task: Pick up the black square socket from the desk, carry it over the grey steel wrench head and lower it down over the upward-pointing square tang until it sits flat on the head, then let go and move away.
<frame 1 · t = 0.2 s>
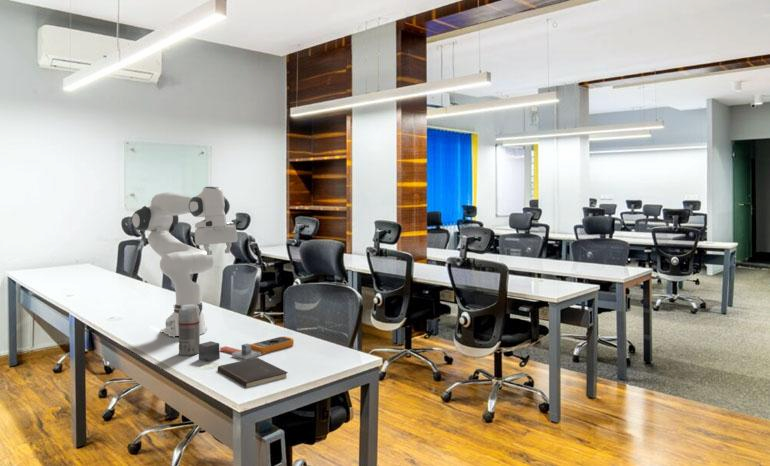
hand: (218, 254, 230), 39 cm above the table, tool pointing down, fingers open, 8 cm apart
spray can: (189, 353, 214), on the table
hardcover book: (252, 375, 188), on the table
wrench: (246, 356, 210), on the table
multimeter: (272, 349, 221), on the table
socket: (209, 358, 206), on the table
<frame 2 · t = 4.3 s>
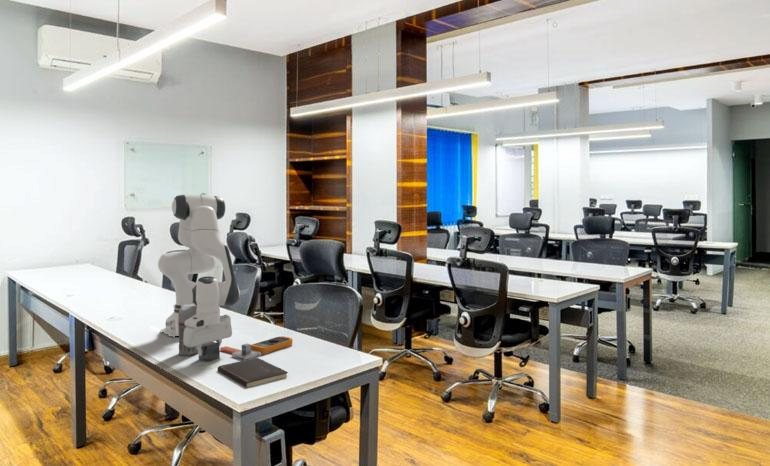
hand: (209, 353, 206), 2 cm above the table, tool pointing down, fingers closed on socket, 6 cm apart
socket: (209, 358, 206), on the table, touching gripper
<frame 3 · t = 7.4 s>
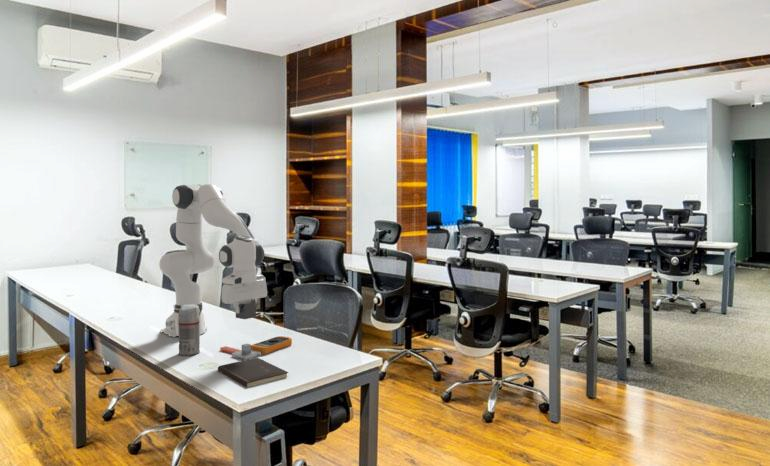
hand: (245, 311, 208), 18 cm above the table, tool pointing down, fingers closed on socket, 6 cm apart
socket: (245, 317, 208), point 16 cm above the table, touching gripper
everything else where it was.
when the fingers open (4 cm above the table, at t = 10.8 s): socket stays where it is, resting on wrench.
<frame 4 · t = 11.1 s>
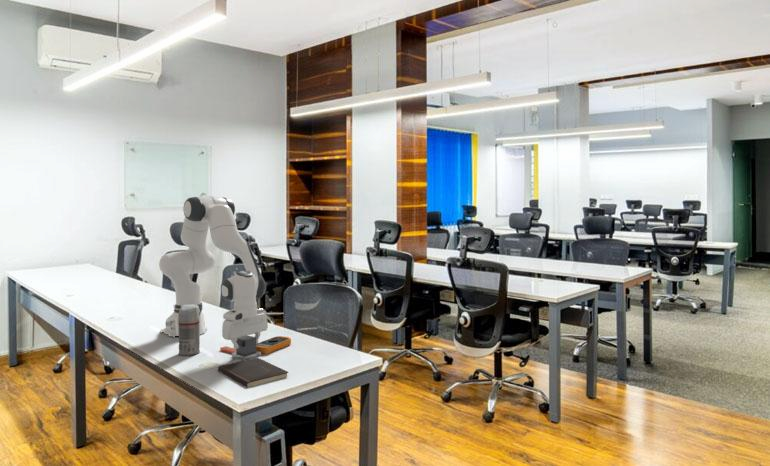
hand: (246, 346, 209), 4 cm above the table, tool pointing down, fingers open, 8 cm apart
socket: (246, 352, 209), point 1 cm above the table, touching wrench
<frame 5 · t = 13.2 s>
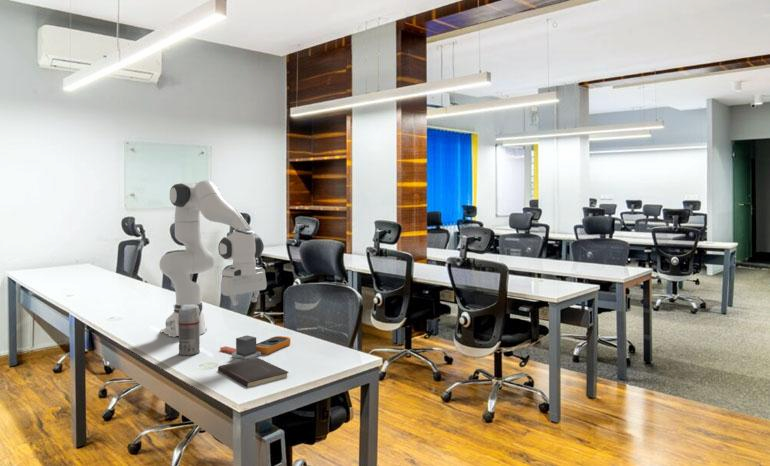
hand: (244, 303, 209), 21 cm above the table, tool pointing down, fingers open, 8 cm apart
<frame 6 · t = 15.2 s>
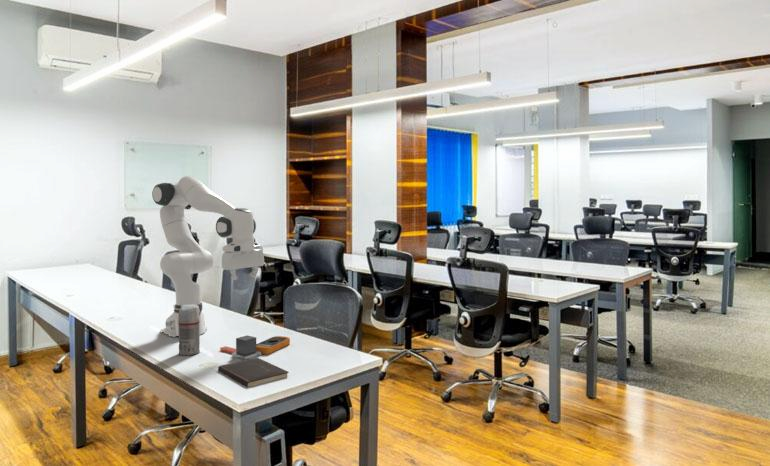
hand: (244, 278, 223), 29 cm above the table, tool pointing down, fingers open, 8 cm apart
at the end: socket 0.0 cm off-centre on the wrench, point 1.4 cm above the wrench's base; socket tilted 0°; the gripper is holding nothing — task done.
